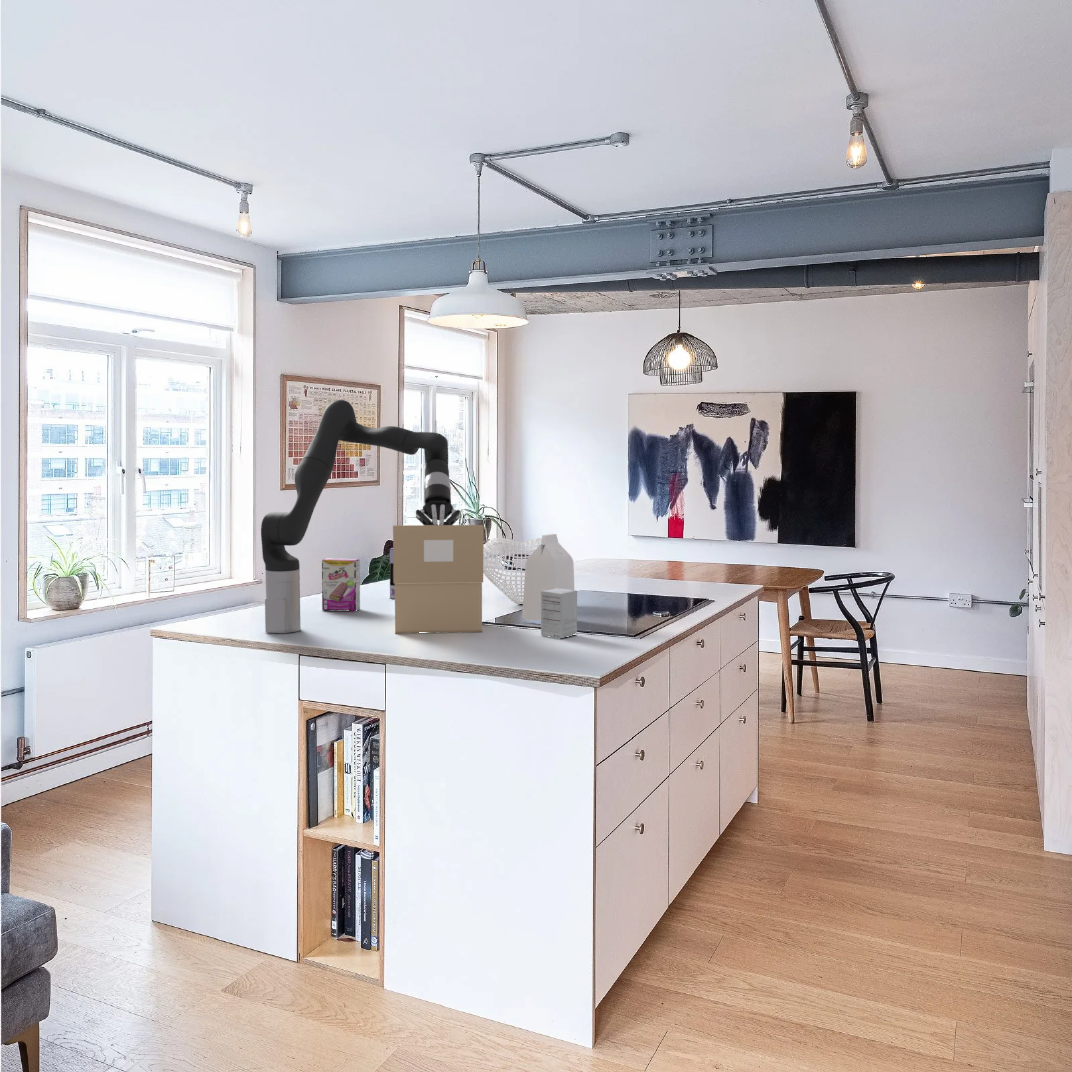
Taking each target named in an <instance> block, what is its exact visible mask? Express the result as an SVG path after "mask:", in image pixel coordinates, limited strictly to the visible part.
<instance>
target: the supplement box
mask: <svg viewBox="0 0 1072 1072" xmlns="http://www.w3.org/2000/svg"><path fill="white" fill-rule="evenodd" d="M576 632H577V633H578V590H575V589H574V590H569V589H560V588H555V589H550V590H545V591H541V625H540V635H541V637H544V636H550V637H556V638H564V637H567V636H571V635H573V634H575V633H576ZM550 637H549V638H550ZM556 638H555V639H556ZM564 639H565V638H564Z"/></svg>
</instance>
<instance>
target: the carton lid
mask: <svg viewBox="0 0 1072 1072" xmlns="http://www.w3.org/2000/svg"><path fill="white" fill-rule="evenodd" d="M484 540H485V539H484V524H456V525H455V524H453V525H439V524H438V525H423V524H422V525H421V524H418V525H415V524H414V525H413V524H412V525H410V524H409V525H405V524H404V525H398V524H397V525H393V526H392V543H393V546H392V548H393V568H394V583H470V582H482V583H484V573H483V567H484V566H483V558H484V557H483V556H484V555H483V545H484Z"/></svg>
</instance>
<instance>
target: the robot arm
mask: <svg viewBox="0 0 1072 1072" xmlns="http://www.w3.org/2000/svg"><path fill="white" fill-rule="evenodd" d="M339 441H340V442H345V443H355V444H362V445H368V446H374V447H375V446H376V447H381V448H385V449H390V450H393V451H396V452H399V453H402V454H405V455H409V456H413V455H416V454H417V452H418V451H419V449H422V450H424V465H425V469H424V484H423V486H424V487H423V493H424V495H423V497H424V498H423V500H424V501H423V503H424V505H423V506H422V508H421V509H417V510H415V518H416V519H417V520H418V521H419V522H420V524H422V525H455V523H456V522H457V521H458V520H459V519H460V517H461V510H460V509H454V507H453V505H452V497H451V495H452V494H451V493H452V492H451V490H452V487H451V483H450V469H449V443H448V442H449V441H448V439H447V438H446V436H444V435H443V434H441V433H438V432H431V431H430V432H428V431H426V432H425V431H414V430H410V429H408V428H403V427H400V426H394V425H390V426H382V427H368V426H366V425H362V424H360V423H358V421H357V417H356V413H355V410H354V408H353V406H352V404H351V403H350V402H349V401H347V400H344V399H336V400H334V401H332V402H331V403H329V404H328V405H327V406H326V407H325V409H324V411H323V413H322V415H321V418H320V421H319V424H318V427H317V430H316V432H315V434H314V436H313V438H312V440H311V442H310V443H309V446H308V447H307V449H306V451H305V454H304V455H303V456H302V459H301V460H300V463H298V464H299V465H298V466H297V468H296V471H295V473H294V485H295V491H296V493H297V495H296V497H297V498H296V501H295V503H294V506H293V507H292V509H290V511H287V512H285V511H283V512H282V511H271V512H270V511H269V512H267V513H266V514H265V515H264V516H263V519H262V520H261V525H260V537H261V538H260V539H261V550H262V551H261V553H262V554H261V555H262V560H263V563H264V566H265V567H264V569H265V599H264V617H265V618H264V623H265V626H264V628H265V633H268V634H269V633H271V634H289V633H294V632H296V633H297V632H299V631H301V628H302V627H301V587H300V586H301V583H300V582H301V581H300V580H301V578H300V560H299V558H298V557H295V556H293V555H292V554H291V553H289V552H288V551H287V550H286V547H285V546H288V547H289V546H290V547H291V546H296V545H298V544H300V543H301V542H302V540H304V539H303V538H304V537H305V535H306V533H307V530H308V527H309V525H310V522H311V519H312V516H313V513H314V510H315V508H316V505H317V504H318V501H319V499H320V497H321V495H322V492H323V490H324V489H325V487H326V484H327V483H328V480H330V479H329V478H330V477H331V475H332V472H333V469H334V466H335V462H336V456H337V450H338V444H339ZM438 521H439V522H438Z"/></svg>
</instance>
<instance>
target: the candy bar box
mask: <svg viewBox="0 0 1072 1072" xmlns="http://www.w3.org/2000/svg"><path fill="white" fill-rule="evenodd" d="M321 609H322V610H349V611H348V612H354V611H356V610H358V609H359V610H361V559H359V558H343V557H342V558H338V557H337V558H336V557H335V558H334V557H326V558H322V560H321ZM359 610H358V611H359ZM356 612H357V611H356Z"/></svg>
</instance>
